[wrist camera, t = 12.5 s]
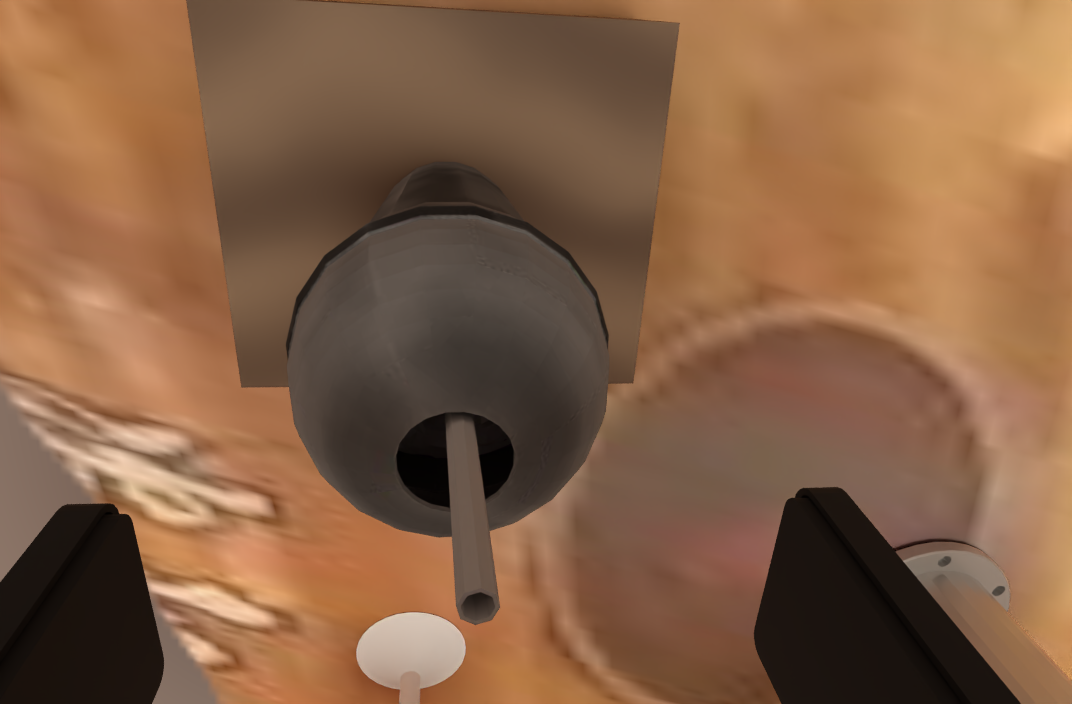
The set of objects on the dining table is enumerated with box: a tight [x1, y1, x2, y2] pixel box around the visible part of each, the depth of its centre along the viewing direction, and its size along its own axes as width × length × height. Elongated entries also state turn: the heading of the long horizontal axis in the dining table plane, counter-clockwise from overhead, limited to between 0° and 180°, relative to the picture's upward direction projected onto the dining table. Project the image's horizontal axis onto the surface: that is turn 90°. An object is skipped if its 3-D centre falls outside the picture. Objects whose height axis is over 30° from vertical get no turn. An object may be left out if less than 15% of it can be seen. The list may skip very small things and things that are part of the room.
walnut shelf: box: [186, 0, 680, 387], centre depth 29 cm, size 14×16×6 cm
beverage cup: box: [286, 162, 609, 625], centre depth 18 cm, size 7×7×20 cm
